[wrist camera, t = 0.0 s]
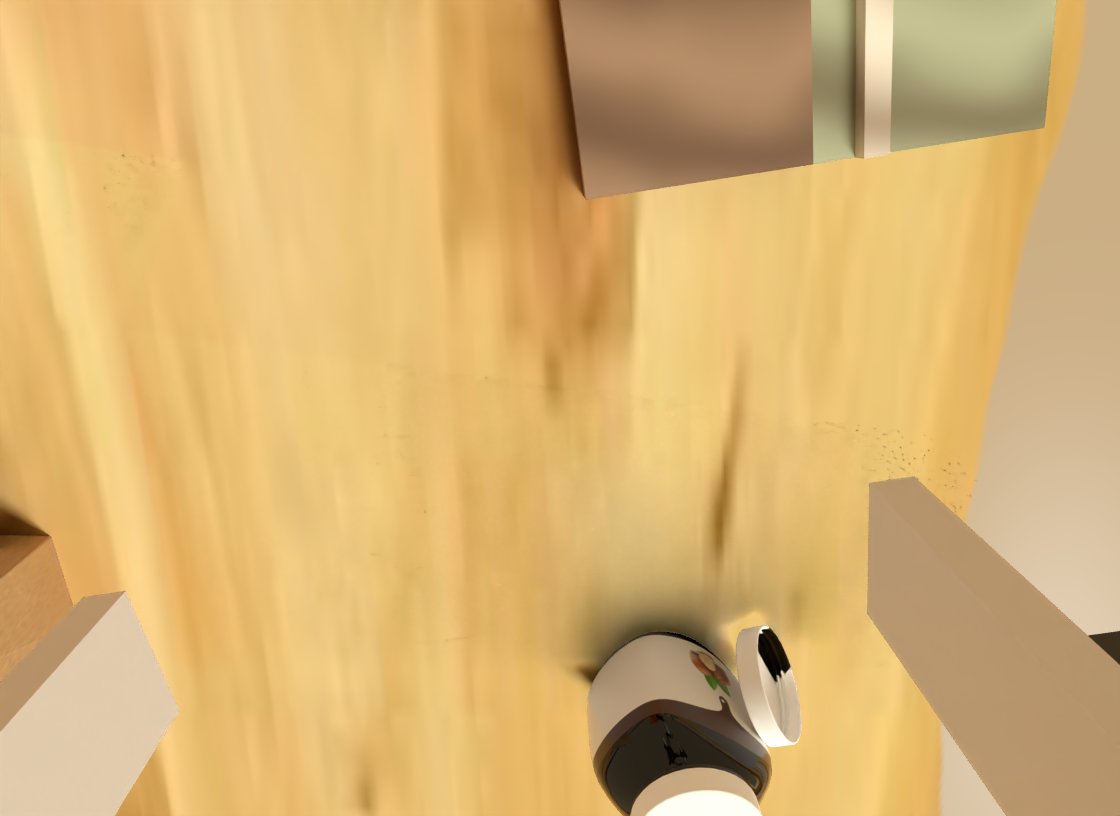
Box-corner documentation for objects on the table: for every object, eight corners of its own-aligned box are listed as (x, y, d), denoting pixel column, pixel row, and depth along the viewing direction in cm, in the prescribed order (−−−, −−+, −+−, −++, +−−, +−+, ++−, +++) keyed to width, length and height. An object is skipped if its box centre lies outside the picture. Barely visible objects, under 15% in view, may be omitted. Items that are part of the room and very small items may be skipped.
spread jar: (566, 680, 47) (575, 846, 36) (671, 559, 44) (716, 701, 33) (706, 754, 50) (754, 928, 39) (814, 645, 46) (899, 802, 36)
